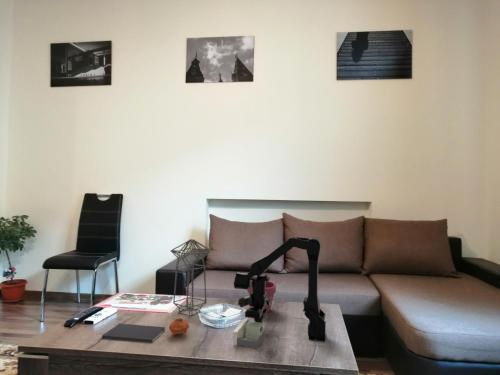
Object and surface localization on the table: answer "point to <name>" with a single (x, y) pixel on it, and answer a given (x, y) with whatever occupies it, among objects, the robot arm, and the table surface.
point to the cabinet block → (253, 330)
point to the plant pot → (270, 290)
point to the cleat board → (241, 332)
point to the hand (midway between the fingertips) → (258, 327)
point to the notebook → (134, 332)
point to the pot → (178, 326)
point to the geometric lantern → (191, 271)
